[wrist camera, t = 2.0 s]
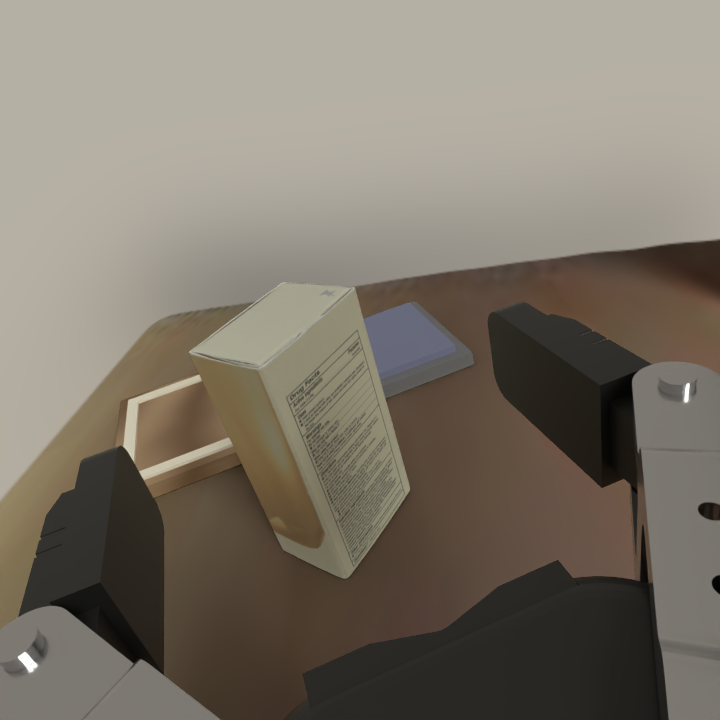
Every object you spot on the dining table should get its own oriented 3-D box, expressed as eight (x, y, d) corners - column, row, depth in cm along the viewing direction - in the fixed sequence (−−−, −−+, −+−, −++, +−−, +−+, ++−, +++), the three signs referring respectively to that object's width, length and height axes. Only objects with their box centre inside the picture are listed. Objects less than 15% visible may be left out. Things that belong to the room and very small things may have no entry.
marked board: (272, 358, 46) (267, 345, 45) (304, 439, 36) (298, 424, 35) (126, 411, 44) (119, 398, 43) (115, 512, 34) (106, 498, 33)
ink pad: (417, 311, 47) (414, 295, 46) (474, 364, 38) (471, 345, 38) (304, 353, 45) (298, 337, 45) (337, 417, 37) (331, 398, 36)
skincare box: (349, 470, 32) (286, 276, 26) (414, 491, 30) (361, 281, 24) (275, 555, 28) (180, 349, 22) (344, 588, 26) (258, 364, 19)
